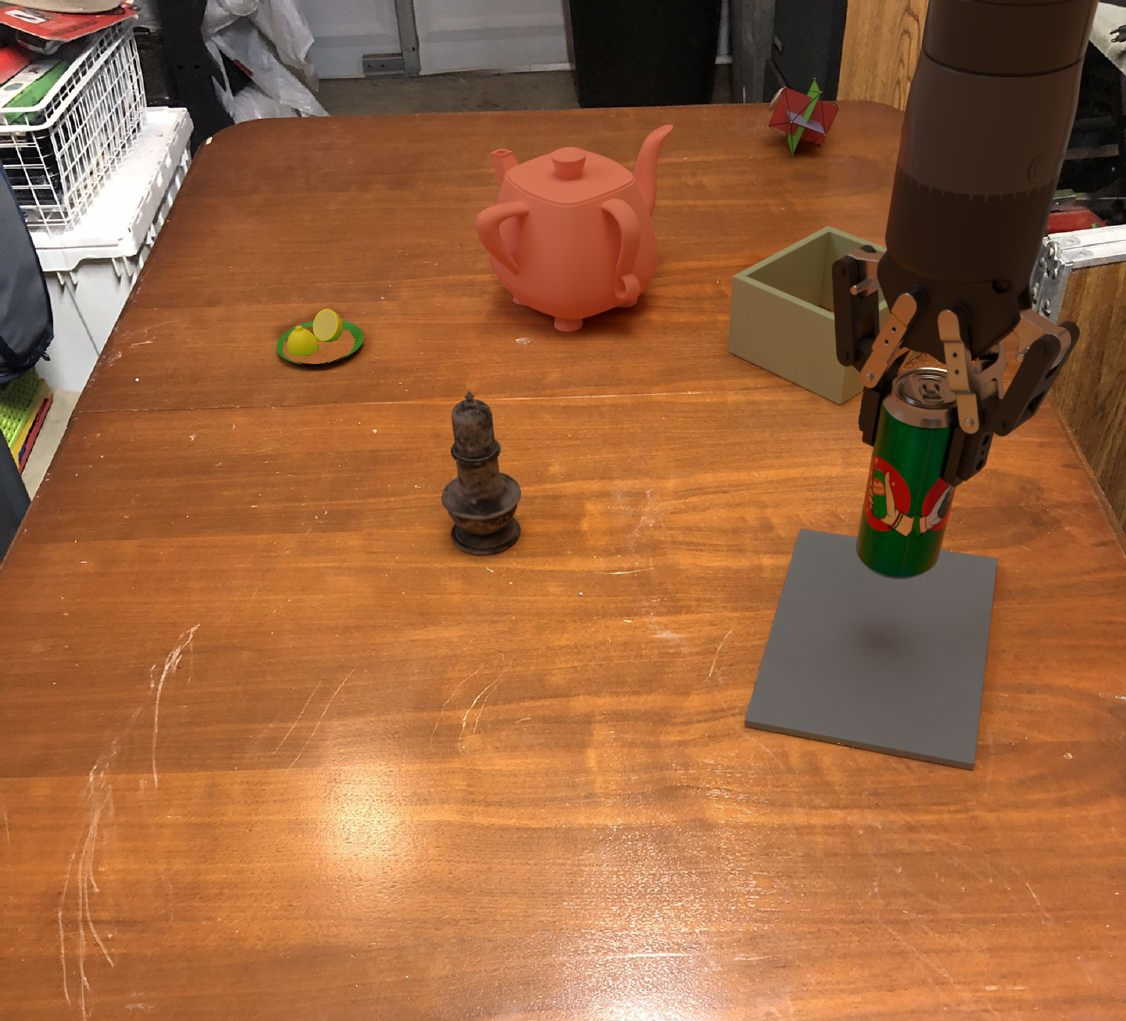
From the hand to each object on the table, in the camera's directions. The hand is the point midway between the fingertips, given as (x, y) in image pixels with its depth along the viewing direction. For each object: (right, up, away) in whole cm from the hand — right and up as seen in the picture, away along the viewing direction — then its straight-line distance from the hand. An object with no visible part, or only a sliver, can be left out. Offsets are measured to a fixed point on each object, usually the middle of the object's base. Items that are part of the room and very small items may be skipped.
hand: (916, 457), depth 68 cm
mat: (+1, -10, +11) cm, 15 cm away
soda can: (0, -5, +6) cm, 8 cm away
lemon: (-43, +20, +40) cm, 62 cm away
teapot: (-19, +27, +45) cm, 55 cm away
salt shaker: (-26, -1, +21) cm, 33 cm away
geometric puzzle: (+6, +51, +65) cm, 83 cm away
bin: (+3, +18, +36) cm, 40 cm away
